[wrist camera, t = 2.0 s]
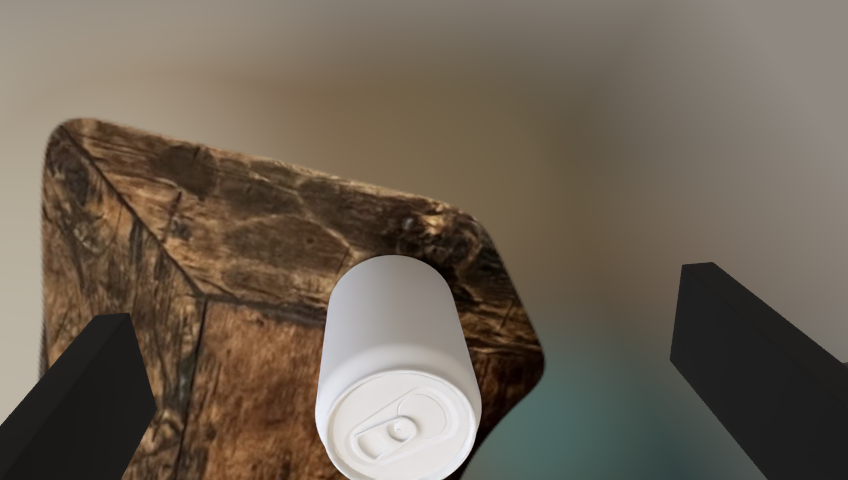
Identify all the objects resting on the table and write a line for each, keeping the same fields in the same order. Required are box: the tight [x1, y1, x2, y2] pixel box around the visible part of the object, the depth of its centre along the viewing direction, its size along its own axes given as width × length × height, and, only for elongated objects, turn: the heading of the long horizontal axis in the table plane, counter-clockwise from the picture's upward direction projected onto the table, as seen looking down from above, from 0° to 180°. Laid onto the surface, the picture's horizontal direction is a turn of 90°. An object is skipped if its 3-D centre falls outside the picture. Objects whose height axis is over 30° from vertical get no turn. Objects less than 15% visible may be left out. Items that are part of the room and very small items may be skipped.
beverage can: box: [315, 255, 481, 480], centre depth 33 cm, size 8×8×12 cm
